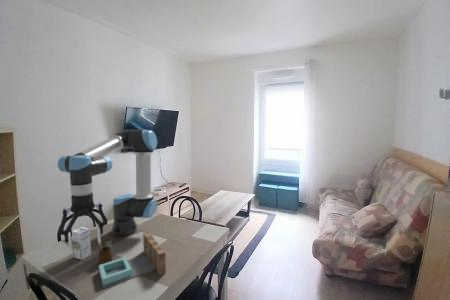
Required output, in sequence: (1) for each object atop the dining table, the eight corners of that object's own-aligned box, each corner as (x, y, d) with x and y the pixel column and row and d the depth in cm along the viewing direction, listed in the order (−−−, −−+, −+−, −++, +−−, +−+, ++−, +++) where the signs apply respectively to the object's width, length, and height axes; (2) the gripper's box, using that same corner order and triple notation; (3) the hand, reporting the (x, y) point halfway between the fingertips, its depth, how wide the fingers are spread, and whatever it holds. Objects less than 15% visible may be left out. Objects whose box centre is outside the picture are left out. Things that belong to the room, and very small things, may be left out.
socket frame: (99, 271, 105) (98, 265, 105) (125, 262, 112) (125, 256, 112) (103, 285, 96) (102, 279, 96) (131, 275, 103) (131, 269, 102)
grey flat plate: (98, 270, 106) (98, 270, 106) (146, 255, 119) (146, 254, 119) (103, 288, 95) (103, 287, 95) (155, 269, 108) (155, 268, 108)
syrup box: (91, 254, 119) (90, 227, 118) (81, 260, 114) (79, 233, 112) (83, 252, 121) (82, 226, 120) (73, 258, 116) (71, 231, 114)
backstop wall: (143, 251, 123) (143, 233, 122) (149, 249, 125) (148, 232, 124) (159, 275, 104) (158, 254, 103) (165, 272, 106) (165, 252, 104)
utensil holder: (109, 265, 111) (108, 241, 109) (96, 265, 110) (95, 242, 109) (114, 258, 116) (113, 235, 115) (101, 258, 116) (100, 236, 115)
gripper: (47, 201, 83) (51, 258, 86) (113, 191, 96) (116, 241, 99) (47, 195, 89) (52, 249, 92) (110, 187, 102) (112, 234, 105)
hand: (85, 245), depth 96 cm, fingers open, 10 cm apart
